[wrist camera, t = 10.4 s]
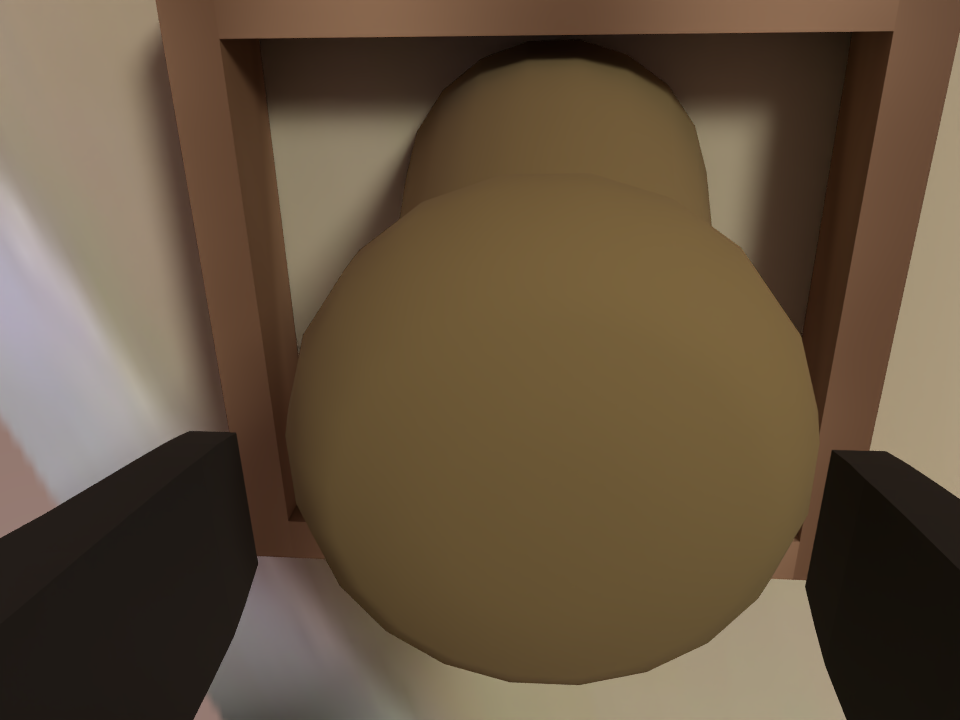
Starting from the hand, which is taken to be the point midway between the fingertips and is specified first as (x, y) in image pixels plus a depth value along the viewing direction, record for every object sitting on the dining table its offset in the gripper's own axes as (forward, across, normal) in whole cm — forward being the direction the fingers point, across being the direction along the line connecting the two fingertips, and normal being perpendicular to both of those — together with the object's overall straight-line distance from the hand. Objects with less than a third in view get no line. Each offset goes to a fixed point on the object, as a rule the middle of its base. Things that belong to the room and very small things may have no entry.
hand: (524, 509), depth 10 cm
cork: (+8, 0, -2) cm, 9 cm away
